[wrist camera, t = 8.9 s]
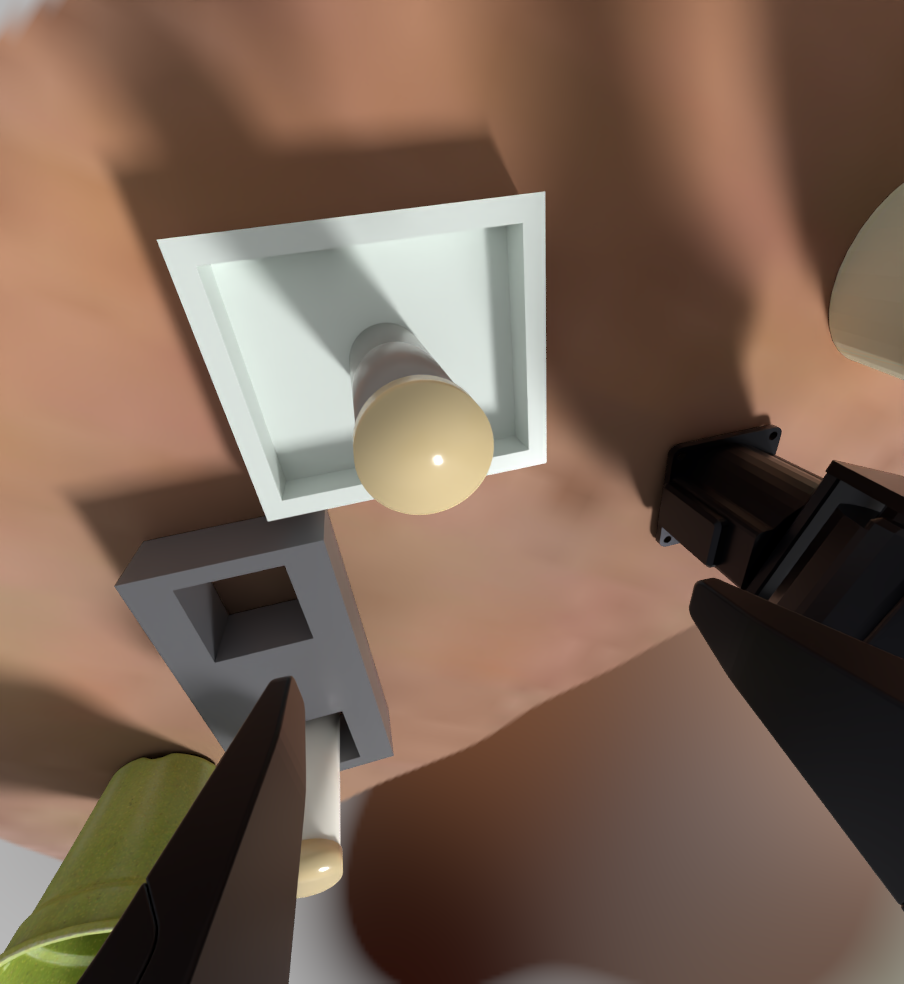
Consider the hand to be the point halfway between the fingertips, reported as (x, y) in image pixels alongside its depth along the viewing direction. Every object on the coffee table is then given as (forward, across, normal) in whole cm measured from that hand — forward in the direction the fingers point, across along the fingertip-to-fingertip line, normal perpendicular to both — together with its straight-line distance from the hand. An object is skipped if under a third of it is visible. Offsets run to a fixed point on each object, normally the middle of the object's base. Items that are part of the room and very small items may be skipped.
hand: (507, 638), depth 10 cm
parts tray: (+12, +1, -3) cm, 13 cm away
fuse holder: (+12, +9, +11) cm, 18 cm away
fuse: (+12, +9, +16) cm, 22 cm away
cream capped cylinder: (+12, +1, -3) cm, 12 cm away
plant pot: (+12, +18, +20) cm, 30 cm away
